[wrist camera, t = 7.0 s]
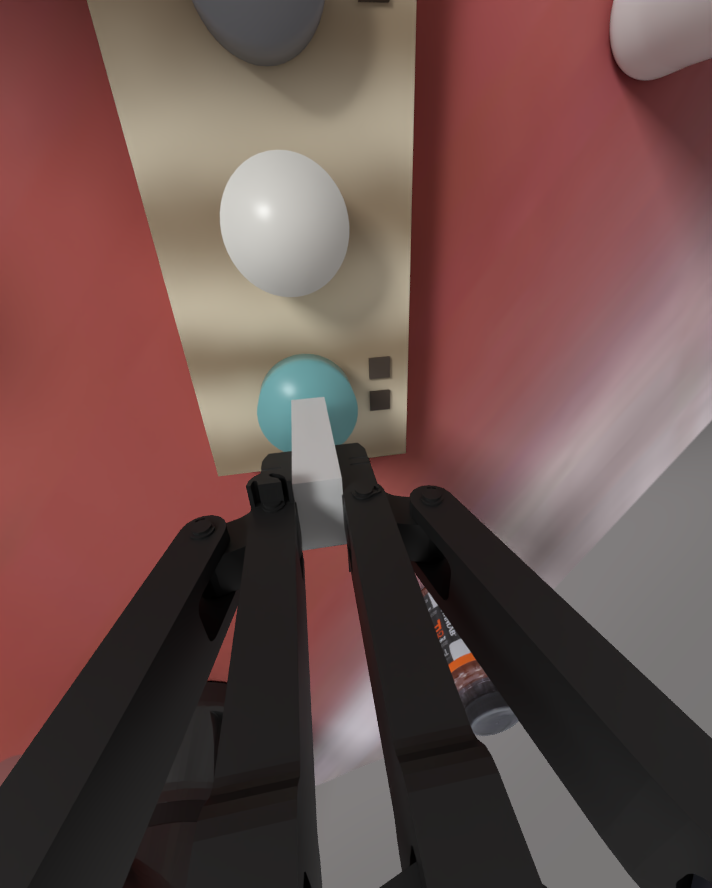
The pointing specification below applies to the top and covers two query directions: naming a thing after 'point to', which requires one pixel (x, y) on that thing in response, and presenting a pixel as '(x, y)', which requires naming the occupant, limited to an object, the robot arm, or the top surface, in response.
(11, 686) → the top surface
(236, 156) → the button panel
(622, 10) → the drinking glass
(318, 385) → the teal button
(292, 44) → the grey button
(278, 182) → the white button
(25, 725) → the top surface
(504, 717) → the supplement bottle
